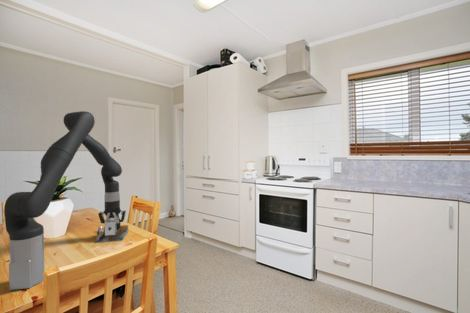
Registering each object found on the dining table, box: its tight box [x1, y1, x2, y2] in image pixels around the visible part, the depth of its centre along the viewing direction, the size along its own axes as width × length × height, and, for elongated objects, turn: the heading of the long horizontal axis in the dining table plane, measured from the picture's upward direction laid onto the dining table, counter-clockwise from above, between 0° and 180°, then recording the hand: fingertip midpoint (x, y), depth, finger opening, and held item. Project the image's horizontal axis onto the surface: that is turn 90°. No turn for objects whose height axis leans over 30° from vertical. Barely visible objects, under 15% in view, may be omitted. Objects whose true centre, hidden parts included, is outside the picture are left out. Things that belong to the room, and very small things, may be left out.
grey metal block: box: [104, 216, 121, 235], centre depth 127 cm, size 10×5×7 cm, turn 13°
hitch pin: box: [97, 226, 104, 235], centre depth 134 cm, size 7×3×3 cm, turn 33°
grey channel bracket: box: [94, 224, 129, 244], centre depth 127 cm, size 14×13×4 cm
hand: (112, 229), depth 128 cm, fingers closed on grey metal block, 5 cm apart
